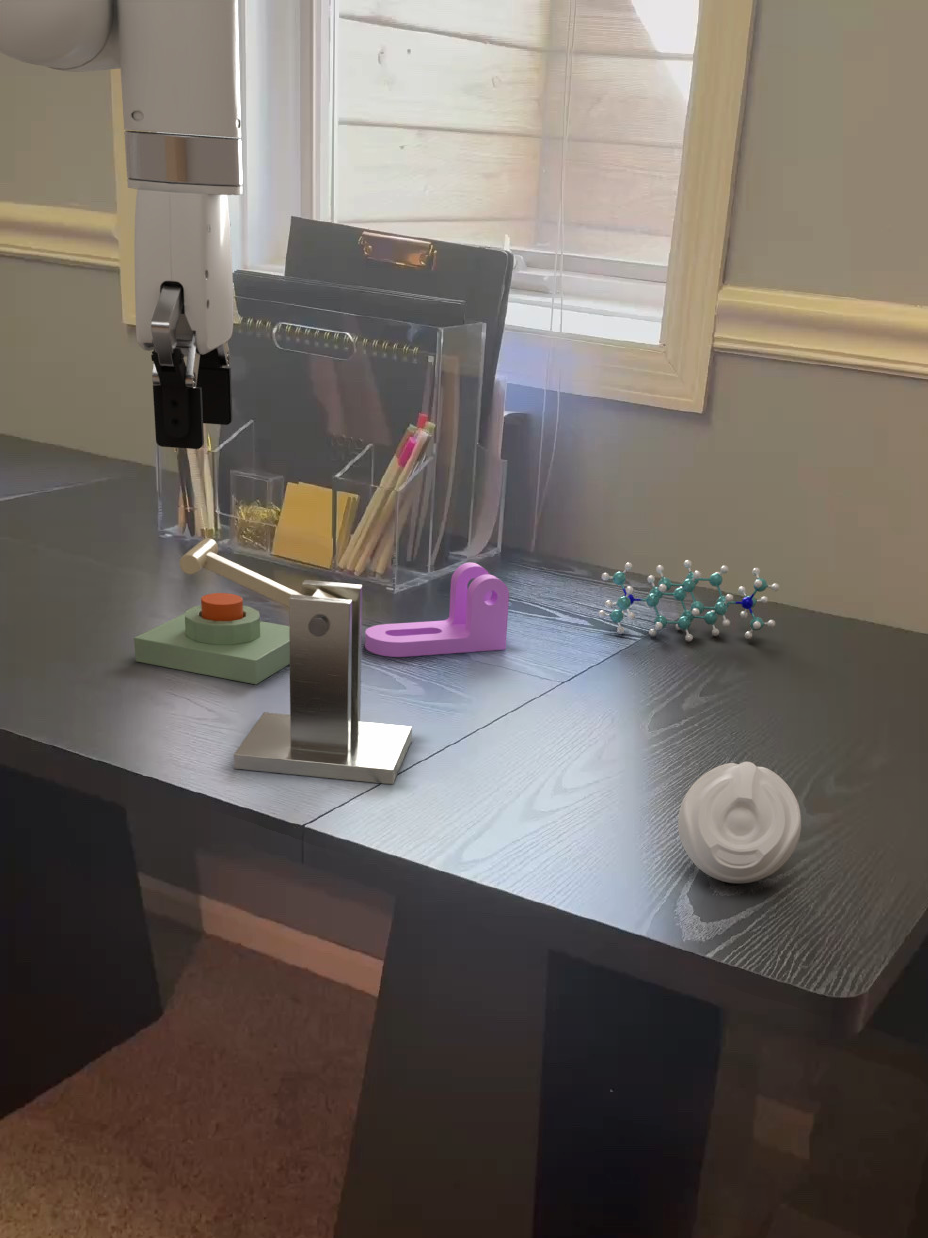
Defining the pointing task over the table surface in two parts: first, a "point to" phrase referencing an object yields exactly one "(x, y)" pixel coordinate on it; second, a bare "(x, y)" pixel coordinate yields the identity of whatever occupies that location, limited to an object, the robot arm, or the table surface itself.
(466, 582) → the bracket
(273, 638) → the button box
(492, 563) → the table surface
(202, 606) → the button
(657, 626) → the molecule model
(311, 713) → the bracket
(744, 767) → the motion sensor
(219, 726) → the table surface
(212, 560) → the lever
